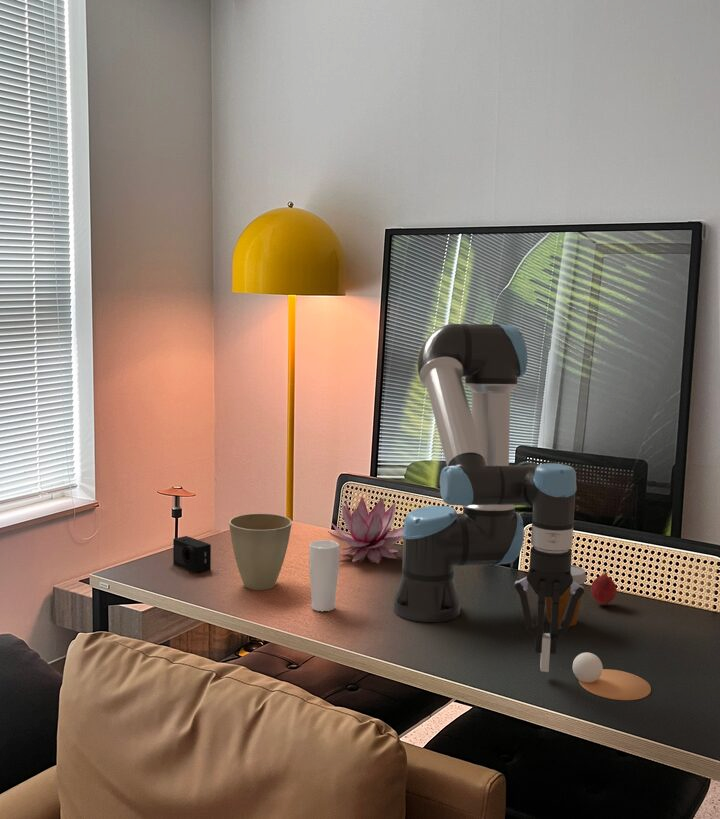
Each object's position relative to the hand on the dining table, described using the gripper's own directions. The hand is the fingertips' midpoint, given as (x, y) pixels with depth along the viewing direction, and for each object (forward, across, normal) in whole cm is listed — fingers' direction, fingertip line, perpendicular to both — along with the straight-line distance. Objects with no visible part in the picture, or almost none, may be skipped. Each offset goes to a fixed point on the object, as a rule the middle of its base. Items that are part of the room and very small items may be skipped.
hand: (544, 668), depth 175 cm
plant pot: (+2, -66, +39) cm, 77 cm away
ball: (-1, +8, 0) cm, 8 cm away
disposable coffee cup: (+2, +5, +31) cm, 31 cm away
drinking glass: (+2, -48, +27) cm, 55 cm away
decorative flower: (+2, -44, +67) cm, 80 cm away
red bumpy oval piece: (+2, +15, +44) cm, 47 cm away
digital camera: (+2, -87, +48) cm, 99 cm away
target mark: (+2, +13, 0) cm, 13 cm away
